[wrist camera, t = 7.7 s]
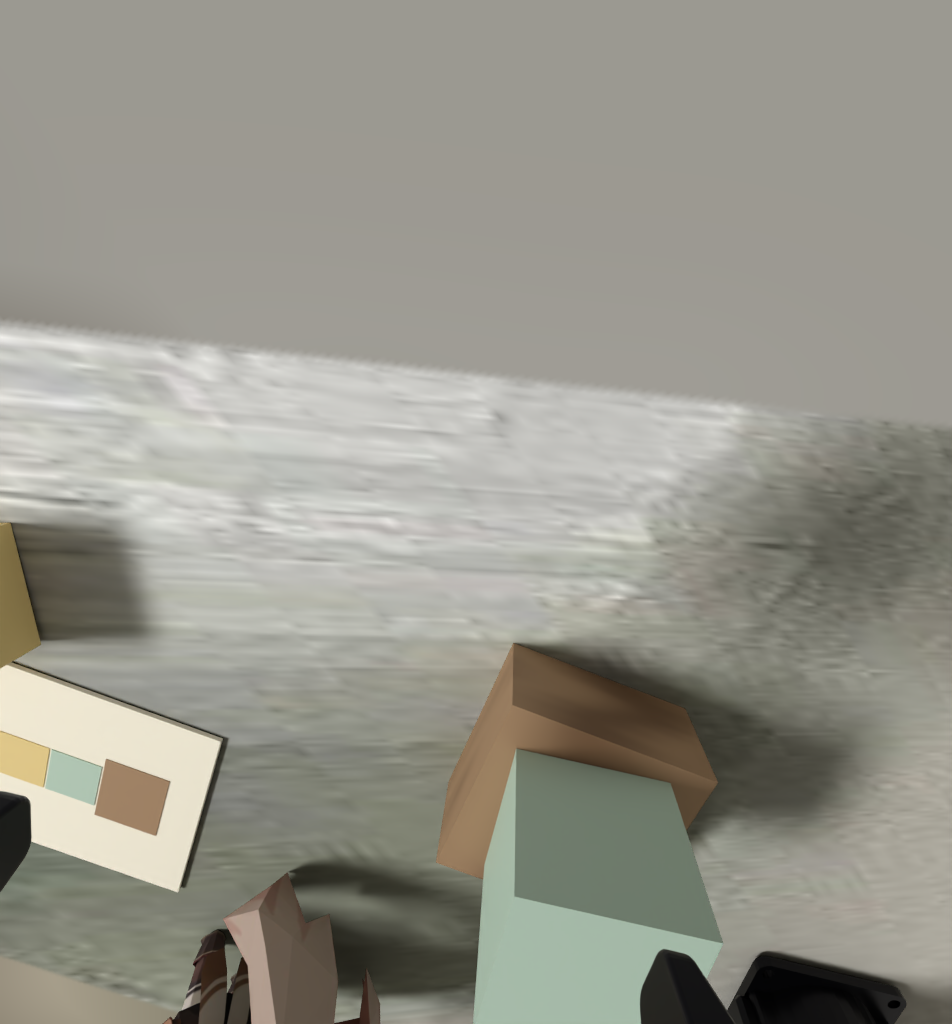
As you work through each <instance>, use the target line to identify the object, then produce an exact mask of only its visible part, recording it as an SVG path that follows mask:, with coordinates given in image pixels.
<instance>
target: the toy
mask: <svg viewBox="0 0 952 1024" xmlns="http://www.w3.org/2000/svg"><path fill="white" fill-rule="evenodd" d="M223 920H224V922H225V923H226V925H227V927H228V929H229V931H230V933H231V935H232V937H233V939H234V941H235V942H236V944H237V946H238V948H239V950H240V952H241V954H242V956H243V957H242V958H241V961H240V965H239V968H238V971H237V974H235V975H233V976H232V977H231V981H232V985H231V987H230V989H229V991H228V993H227V967H226V958H225V941H226V939H225V935H224V933H222V932H221V931H219V930H216V931H214V932H213V933H211V934H208V935H206V936H205V937H203V938H202V940H201V943H202V946H201V948H200V950H199V952H198V954H197V957H196V959H195V961H194V963H193V965H194V966H195V970H194V974H193V977H192V980H191V983H190V986H189V989H188V992H187V995H186V999H185V1002H184V1005H183V1008H182V1011H179V1013H178V1014H177V1016H176V1017H175V1019H173V1020H172V1018H171V1017H170V1018H169V1019H167V1020H166V1021H165V1022H164V1023H163V1024H380V1002H379V1000H378V997H377V994H376V992H375V989H374V986H373V984H372V981H371V978H370V976H369V973H368V970H367V967H366V973H365V981H364V980H363V979H362V980H363V996H362V1004H361V1011H360V1018H357V1019H352V1020H348V1021H343V1022H339V1023H334V1017H335V1007H336V998H337V988H338V976H337V968H336V961H335V953H334V946H333V938H332V931H331V923H330V916H329V914H328V915H325V916H323V917H320V918H318V919H315V920H313V921H310V922H308V923H305V920H304V917H303V915H302V912H301V909H300V906H299V903H298V901H297V898H296V895H295V892H294V889H293V887H292V884H291V881H290V878H289V875H288V872H287V873H286V874H285V875H284V876H282V877H281V878H280V879H279V880H278V881H276V882H275V883H274V884H273V885H271V886H270V887H269V888H267V889H266V890H264V891H263V892H261V893H260V894H258V895H257V896H256V897H254V898H253V899H251V900H250V901H248V902H247V903H245V904H244V905H243V906H241V907H240V908H238V909H237V910H235V911H234V912H233V913H231V914H230V915H228V916H227V917H225V918H224V919H223Z"/></svg>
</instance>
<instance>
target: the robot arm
mask: <svg viewBox="0 0 952 1024" xmlns="http://www.w3.org/2000/svg"><path fill="white" fill-rule="evenodd" d="M31 838H32V834H31V803H30V800H29V799H28V798H27V797H26V796H22V795H18V794H14V793H10V792H6V791H0V892H1V890H2V889H3V888H4V886H5V885H6V883H7V882H8V881H9V879H10V878H11V876H12V875H13V874H14V872H15V871H16V869H17V868H18V867H19V865H20V864H21V862H22V861H23V859H24V858H25V856H26V854H27V852H28V850H29V847H30V844H31ZM905 1007H906V1000H905V999H904V997H903V995H902V994H901V992H900V990H899V989H898V988H896V987H894V986H890V985H885V984H881V983H877V982H873V981H869V980H865V979H860V978H856V977H852V976H848V975H844V974H840V973H835V972H831V971H827V970H823V969H819V968H814V967H810V966H806V965H802V964H798V963H794V962H789V961H785V960H781V959H777V958H773V957H768V956H762V957H759V958H757V959H755V960H754V962H753V963H752V965H751V967H750V969H749V971H748V973H747V975H746V976H745V978H744V980H743V982H742V984H741V986H740V988H739V989H738V991H737V993H736V995H735V997H734V999H733V1001H732V1002H731V1004H730V1006H729V1008H728V1010H726V1008H725V1007H724V1005H723V1004H722V1002H721V1001H720V999H719V998H718V996H717V995H716V993H715V991H714V990H713V988H712V987H711V985H710V984H709V982H708V981H707V979H706V978H705V976H704V975H703V973H702V971H701V970H700V968H699V967H698V965H697V964H696V962H695V961H694V960H693V959H692V958H691V957H690V956H689V955H687V954H684V953H680V952H676V951H672V950H667V949H662V950H660V951H659V952H658V953H657V955H656V957H655V959H654V961H653V964H652V966H651V968H650V970H649V972H648V975H647V977H646V979H645V981H644V983H643V986H642V989H641V994H640V1018H641V1024H894V1023H895V1022H896V1020H897V1019H898V1017H899V1016H900V1014H901V1013H902V1011H903V1010H904V1008H905Z"/></svg>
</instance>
